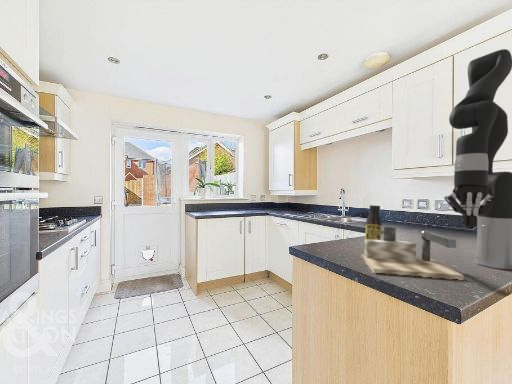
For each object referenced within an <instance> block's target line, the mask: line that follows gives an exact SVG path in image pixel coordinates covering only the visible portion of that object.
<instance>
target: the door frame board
mask: <svg viewBox="0 0 512 384" xmlns="http://www.w3.org/2000/svg"><path fill="white" fill-rule="evenodd" d="M396 229H397V228H396V227H395V226H382V239H381V240H371V239H365V238H364V241H363V242H364V245H363V246H364V251H363V253H361V254H360V259H361V258H362V259H363V260H364V261H365V262H364V261H363V260H362V259H361V260H362V261H363V262H364V264H366V265H368V266H369V267H370V268H369V267H368V266H367V267H368V268H369V269H370V270H371V272H372V273H373V274H376V273H386V274H385V275H389V274H399V275H398V276H401V275H412V276H411V277H414V276H422V277H421V278H427V277H432V278H431V279H439V278H445V279H444V280H452V279H458V280H457V281H464V274H462V273H460V272H458V271H456V270H454V269H452V268H451V267H448V266H446V265H444V264H442V263H440V262H439V261H436V260H434V259H433V258H431V241H429V240H427V239H423V238H421V240H422V241H421V257H417V243H415V242H413V241H410V240H409V241H407V240H406V241H405V240H396V239H397V238H396V235H397V232H396V231H397V230H396Z"/></svg>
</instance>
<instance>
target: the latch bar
mask: <svg viewBox="0 0 512 384" xmlns="http://www.w3.org/2000/svg"><path fill="white" fill-rule="evenodd" d="M420 238H421V239H427V240H429V241H430V242H431V243H435V244H438V245H441V246H443V247H446V248H448V249H449V248H451V249H456V248H457V239H455V238H452V237H448V236H446V235H442V234H439V233H435V232H432V231H429V230H421V231H420Z"/></svg>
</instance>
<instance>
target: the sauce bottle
mask: <svg viewBox="0 0 512 384" xmlns="http://www.w3.org/2000/svg"><path fill="white" fill-rule="evenodd" d="M380 210H381V205H374V204H373V205H369V215H368V216H367V219H366V220H365V221H366V224H365V236H364V240H365V239H371V240H382V232H383V226H382V225H383V224H382V223H383V221H382V219H381V217H380Z"/></svg>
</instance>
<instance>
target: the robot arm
mask: <svg viewBox="0 0 512 384" xmlns="http://www.w3.org/2000/svg"><path fill="white" fill-rule="evenodd" d="M511 71H512V54H511V51H510V50H508V49H505V48H503V49H499V50H495V51H493V52H491V53H488V54H485V55H483V56H479V57H476V58H474V59H472V60H470V62H468V65H467V78H468V79H467V80H468V86H469V87H468V88H469V89H468V90H467V92H466V94H465V97H464V98H462V100H460V101H459V102H458V103H457V104H456V105H455V106H454V107H453V108H452V109H451V112H450V114H449V118H448V122H449V124H450V126H451V127H452V128H453V129H456V130H463V129H464V130H465V129H469V128H471V133H468V134H465V135H462V136H459V137H458V138H457V140H456V142H455V143H456V147H455V148H456V149H455V160H454V169H453V170H454V175H453V177H454V178H453V185H454V188H453V190H452V193H450V194H449V195H446V196H444V199H443V200H445V201H446V202H447V204H448V206H450V207H451V209H452V210H453V211H454V212H455V213H457V214H460V215H461V216H462V221H461V222H462V223H461V224H462V226H463V227H464V228H466V229H475V227H476V228H477V229H476V232H477V233H476V236H477V237H476V263H477V264H478V265H480V266H484V267H489V268H493V269H501V270H512V172H511V171H495V172H493V171H494V170H493V167H494V166H493V165H494V159H495V157H496V155H497V153H498V152H499V150H500V148H501V147H502V146H503V145H504V142H505V141H506V139H507V136H508V134H509V120H508V115H507V112H506V111H505V110H504V109H503V108H502V107H501V106H500V105H499V104H497V103H496V102H495V101H494V99H495V97H496V93H497V91H498V89H499V87H500V86H501V85H502V84H503V83H504V82H505V81H506V79H507V78H508V76H509V74H510V72H511ZM457 200H458V201H457ZM482 201H483V202H482Z"/></svg>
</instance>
